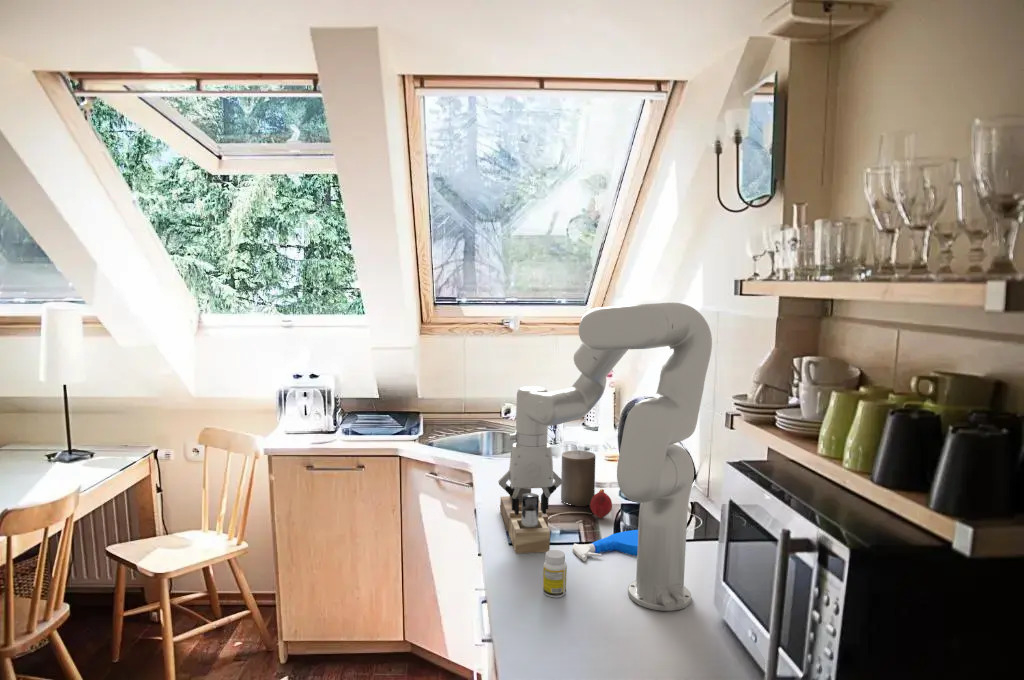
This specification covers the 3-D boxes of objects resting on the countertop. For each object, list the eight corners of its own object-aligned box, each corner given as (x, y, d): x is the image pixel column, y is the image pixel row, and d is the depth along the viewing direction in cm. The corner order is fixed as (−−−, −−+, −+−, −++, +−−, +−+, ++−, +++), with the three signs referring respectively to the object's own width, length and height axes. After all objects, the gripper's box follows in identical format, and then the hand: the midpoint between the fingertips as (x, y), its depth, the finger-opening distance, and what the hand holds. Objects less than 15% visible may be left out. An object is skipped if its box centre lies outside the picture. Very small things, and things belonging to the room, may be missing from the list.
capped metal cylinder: (538, 547, 165) (540, 498, 163) (522, 547, 164) (523, 498, 163) (535, 540, 169) (537, 492, 167) (519, 541, 168) (520, 493, 167)
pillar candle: (601, 504, 196) (602, 452, 194) (571, 508, 191) (573, 455, 190) (582, 494, 204) (583, 444, 203) (553, 498, 200) (555, 447, 198)
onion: (610, 523, 181) (611, 493, 180) (588, 521, 182) (589, 491, 181) (612, 515, 187) (613, 486, 186) (590, 513, 188) (591, 485, 187)
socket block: (547, 532, 174) (548, 502, 173) (508, 533, 173) (509, 504, 172) (536, 509, 190) (537, 482, 189) (500, 510, 188) (500, 483, 188)
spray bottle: (655, 525, 173) (565, 537, 166) (679, 541, 163) (585, 555, 155) (655, 536, 174) (565, 549, 166) (679, 553, 164) (585, 568, 156)
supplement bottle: (552, 585, 145) (553, 546, 144) (570, 592, 142) (571, 553, 141) (538, 593, 142) (539, 553, 141) (556, 600, 139) (558, 560, 138)
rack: (549, 551, 162) (550, 527, 161) (515, 553, 161) (516, 528, 160) (540, 533, 173) (541, 510, 172) (509, 535, 172) (509, 511, 171)
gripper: (497, 443, 159) (496, 519, 161) (570, 442, 161) (568, 517, 163) (493, 435, 166) (492, 508, 168) (563, 434, 169) (561, 506, 171)
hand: (529, 511), depth 166 cm, fingers open, 6 cm apart
